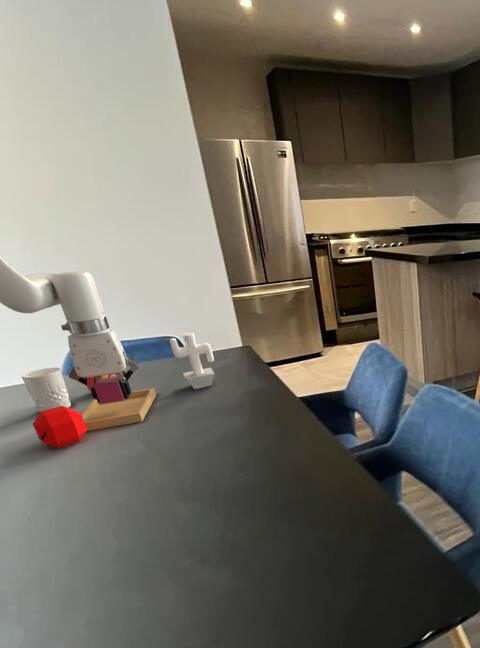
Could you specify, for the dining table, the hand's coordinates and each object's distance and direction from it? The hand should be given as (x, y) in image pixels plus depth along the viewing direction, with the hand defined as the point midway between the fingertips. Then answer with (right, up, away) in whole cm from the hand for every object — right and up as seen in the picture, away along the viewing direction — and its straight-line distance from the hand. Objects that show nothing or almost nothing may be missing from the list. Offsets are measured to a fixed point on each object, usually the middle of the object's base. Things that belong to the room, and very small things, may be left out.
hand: (114, 398), depth 121 cm
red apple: (-1, -10, -14) cm, 17 cm away
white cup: (-20, -3, +7) cm, 21 cm away
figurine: (+13, +4, +17) cm, 22 cm away
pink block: (0, 0, 0) cm, 0 cm away
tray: (0, -3, +1) cm, 4 cm away
